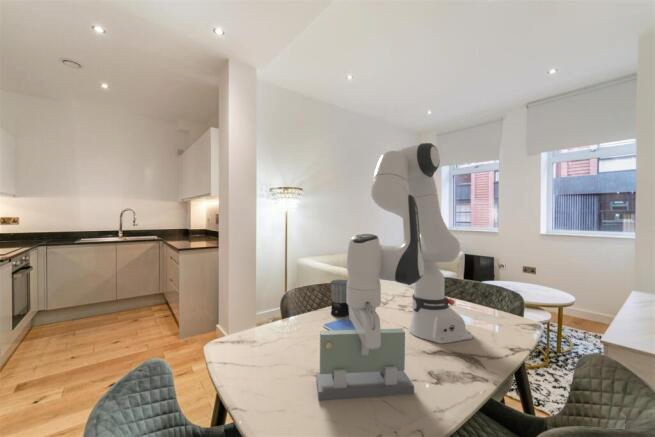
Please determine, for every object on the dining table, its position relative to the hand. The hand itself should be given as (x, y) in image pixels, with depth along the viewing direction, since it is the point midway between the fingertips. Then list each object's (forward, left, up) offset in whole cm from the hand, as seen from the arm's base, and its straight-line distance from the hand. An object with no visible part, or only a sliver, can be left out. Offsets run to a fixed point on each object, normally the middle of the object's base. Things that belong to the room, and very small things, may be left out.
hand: (362, 349), depth 70 cm
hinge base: (0, 0, -10) cm, 10 cm away
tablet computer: (-3, -35, -10) cm, 37 cm away
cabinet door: (0, 0, -5) cm, 5 cm away
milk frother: (-6, -56, -10) cm, 57 cm away
